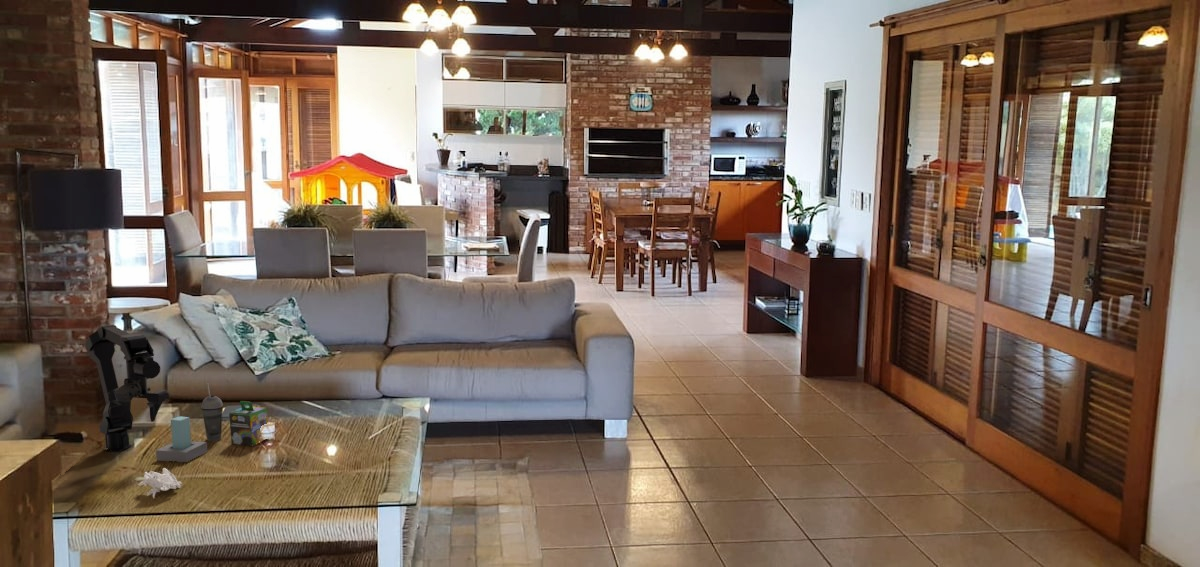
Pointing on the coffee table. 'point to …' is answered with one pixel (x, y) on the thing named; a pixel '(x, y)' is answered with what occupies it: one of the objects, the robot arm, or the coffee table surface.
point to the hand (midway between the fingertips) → (140, 420)
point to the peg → (180, 432)
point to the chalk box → (247, 424)
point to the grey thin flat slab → (232, 408)
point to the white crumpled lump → (160, 481)
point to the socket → (181, 452)
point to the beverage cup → (212, 416)
